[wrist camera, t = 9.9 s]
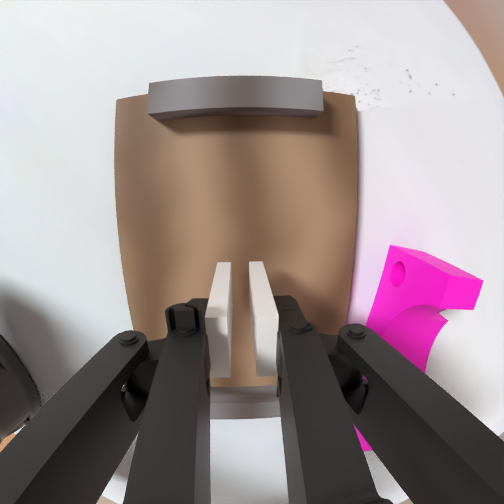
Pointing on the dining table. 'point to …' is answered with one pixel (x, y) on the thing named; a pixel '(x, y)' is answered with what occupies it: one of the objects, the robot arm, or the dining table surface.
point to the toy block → (417, 303)
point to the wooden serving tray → (237, 208)
